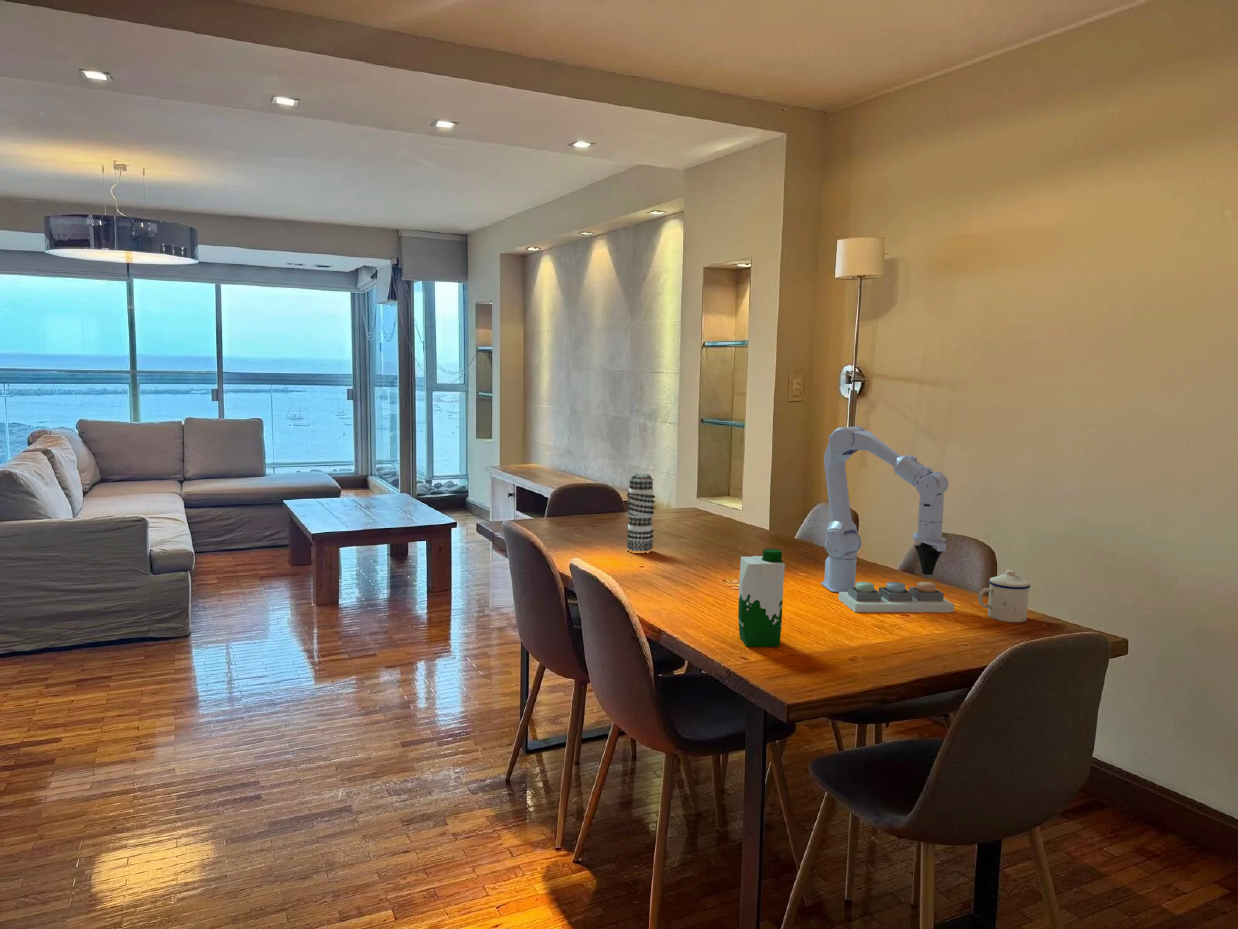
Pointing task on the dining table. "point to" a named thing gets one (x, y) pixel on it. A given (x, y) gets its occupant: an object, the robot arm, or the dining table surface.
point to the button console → (895, 601)
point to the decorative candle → (640, 513)
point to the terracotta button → (926, 587)
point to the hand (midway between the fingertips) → (927, 574)
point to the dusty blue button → (895, 587)
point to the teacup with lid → (1007, 597)
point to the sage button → (864, 587)
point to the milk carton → (761, 599)
